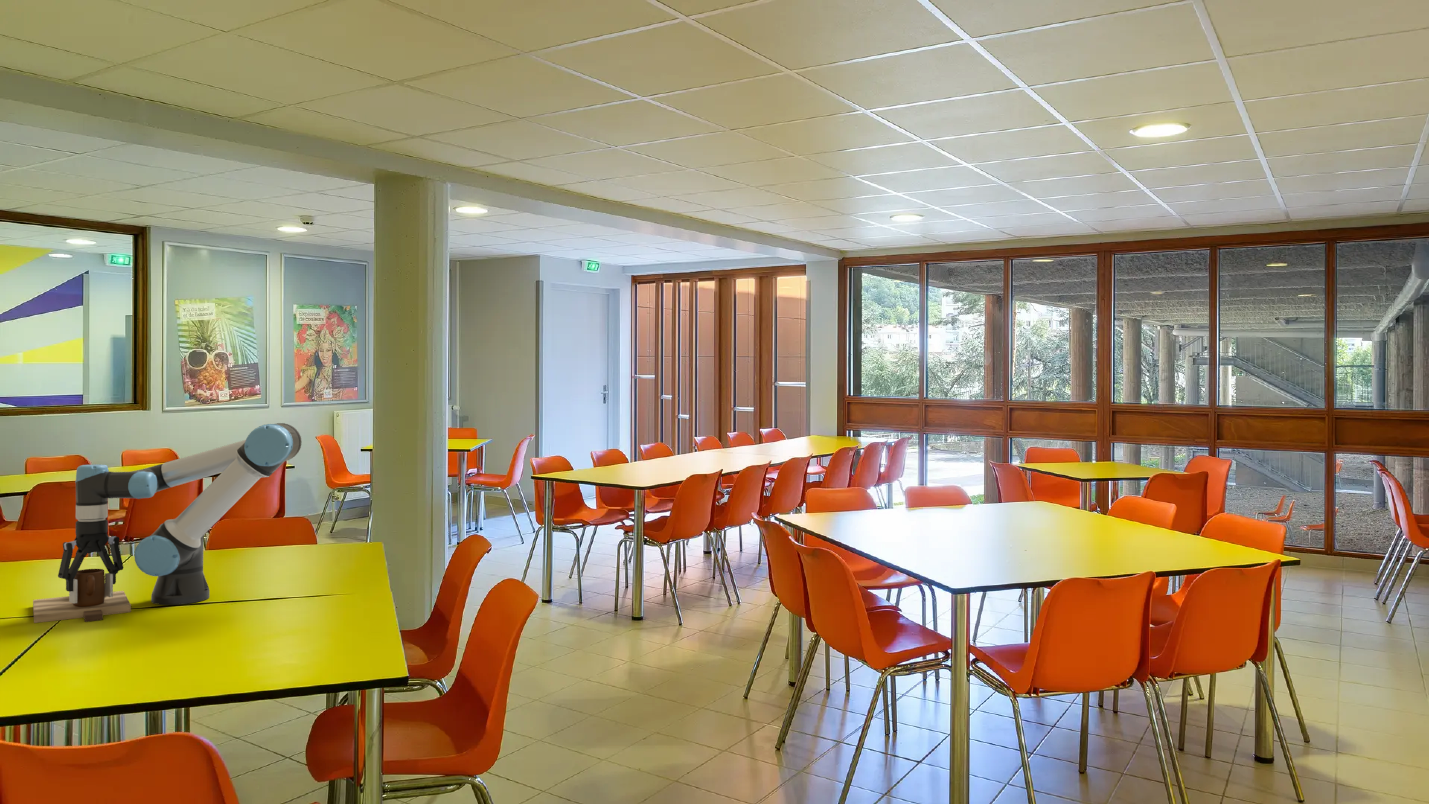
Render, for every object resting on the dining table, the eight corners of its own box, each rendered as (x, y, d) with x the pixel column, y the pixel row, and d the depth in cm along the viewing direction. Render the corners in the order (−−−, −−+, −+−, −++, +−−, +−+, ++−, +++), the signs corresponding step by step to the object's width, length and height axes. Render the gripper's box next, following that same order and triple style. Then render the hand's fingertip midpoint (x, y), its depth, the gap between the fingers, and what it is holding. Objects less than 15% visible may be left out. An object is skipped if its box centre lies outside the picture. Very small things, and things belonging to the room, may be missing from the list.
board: (33, 606, 265) (33, 599, 265) (123, 597, 278) (123, 590, 278) (34, 627, 242) (34, 620, 242) (132, 616, 256) (132, 609, 256)
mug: (107, 607, 257) (108, 574, 257) (74, 611, 252) (74, 577, 252) (103, 599, 266) (103, 567, 266) (71, 603, 261) (71, 570, 261)
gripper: (124, 514, 270) (123, 590, 271) (42, 522, 252) (41, 605, 252) (138, 516, 267) (138, 594, 267) (56, 525, 248) (55, 608, 248)
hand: (91, 599), depth 260 cm, fingers open, 8 cm apart
